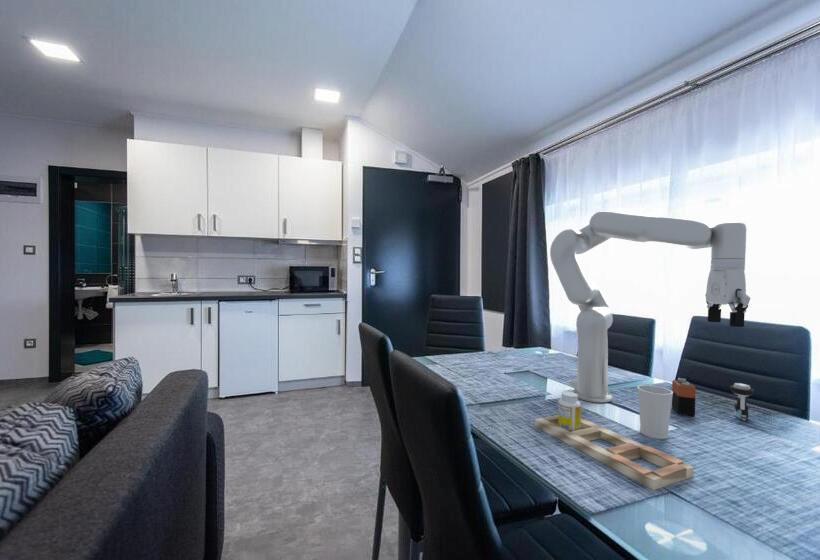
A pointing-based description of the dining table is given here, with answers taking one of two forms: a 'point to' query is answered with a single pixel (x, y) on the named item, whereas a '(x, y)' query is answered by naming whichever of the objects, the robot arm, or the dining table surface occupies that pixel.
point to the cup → (654, 410)
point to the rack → (620, 453)
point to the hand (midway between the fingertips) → (724, 324)
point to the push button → (741, 399)
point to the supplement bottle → (569, 412)
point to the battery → (683, 397)
